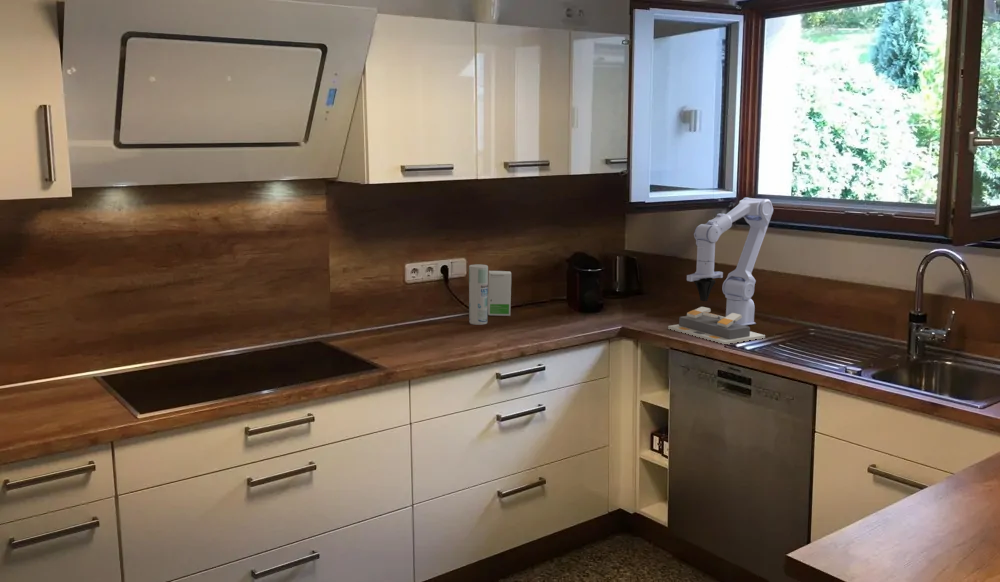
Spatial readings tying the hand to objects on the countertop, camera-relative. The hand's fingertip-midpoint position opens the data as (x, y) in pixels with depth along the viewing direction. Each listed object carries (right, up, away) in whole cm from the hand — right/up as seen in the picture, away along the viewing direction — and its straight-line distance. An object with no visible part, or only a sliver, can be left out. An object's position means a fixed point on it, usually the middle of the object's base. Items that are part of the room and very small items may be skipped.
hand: (703, 300), depth 289 cm
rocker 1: (-1, -4, +1) cm, 5 cm away
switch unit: (+3, -11, -3) cm, 12 cm away
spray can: (-76, -8, +10) cm, 77 cm away
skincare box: (-69, -5, +25) cm, 73 cm away
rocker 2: (+2, -5, -5) cm, 8 cm away
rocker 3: (+6, -7, -11) cm, 14 cm away
